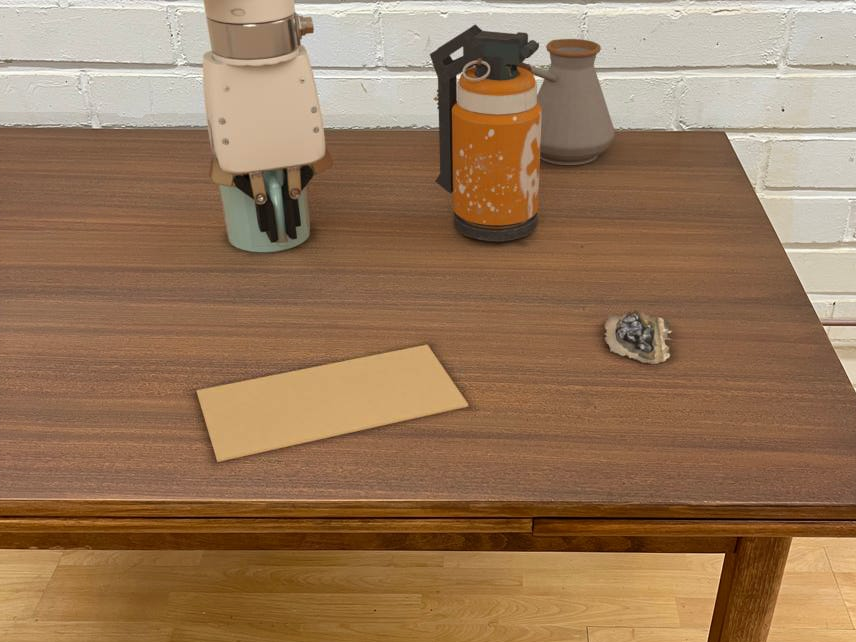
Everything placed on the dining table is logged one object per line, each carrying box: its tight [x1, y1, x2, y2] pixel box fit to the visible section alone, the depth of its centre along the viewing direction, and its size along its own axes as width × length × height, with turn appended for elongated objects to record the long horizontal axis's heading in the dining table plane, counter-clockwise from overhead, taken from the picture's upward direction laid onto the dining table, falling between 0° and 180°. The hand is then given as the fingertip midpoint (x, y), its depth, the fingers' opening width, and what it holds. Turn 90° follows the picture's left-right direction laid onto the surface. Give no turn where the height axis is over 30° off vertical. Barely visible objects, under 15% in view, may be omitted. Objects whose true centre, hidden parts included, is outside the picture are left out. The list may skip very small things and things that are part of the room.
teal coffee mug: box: [217, 169, 311, 253], centre depth 97 cm, size 12×9×10 cm
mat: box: [196, 344, 469, 463], centre depth 77 cm, size 20×10×1 cm, turn 112°
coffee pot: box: [471, 38, 616, 166], centre depth 113 cm, size 21×12×15 cm, turn 130°
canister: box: [429, 24, 542, 243], centre depth 97 cm, size 9×11×20 cm
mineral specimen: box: [603, 310, 673, 365], centre depth 84 cm, size 7×8×2 cm
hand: (280, 234), depth 94 cm, fingers closed on teal coffee mug, 1 cm apart
